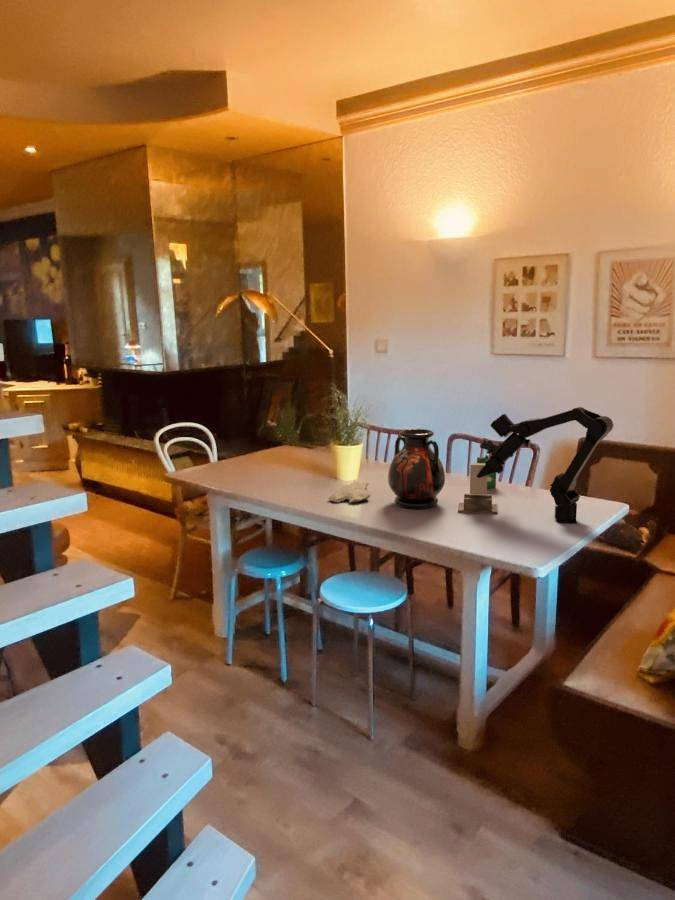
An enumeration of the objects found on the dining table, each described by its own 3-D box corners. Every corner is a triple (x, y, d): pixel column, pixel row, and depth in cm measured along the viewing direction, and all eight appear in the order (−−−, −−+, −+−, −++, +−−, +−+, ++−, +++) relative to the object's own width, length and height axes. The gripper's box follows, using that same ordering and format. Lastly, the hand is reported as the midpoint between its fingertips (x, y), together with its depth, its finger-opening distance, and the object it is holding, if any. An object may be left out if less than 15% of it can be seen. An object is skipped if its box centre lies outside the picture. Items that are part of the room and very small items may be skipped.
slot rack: (497, 506, 248) (497, 493, 248) (497, 514, 239) (497, 501, 238) (458, 504, 251) (459, 492, 250) (457, 512, 242) (458, 499, 241)
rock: (386, 495, 267) (357, 486, 276) (386, 485, 266) (357, 476, 275) (352, 512, 252) (323, 502, 261) (352, 501, 250) (323, 491, 259)
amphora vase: (376, 505, 253) (375, 432, 247) (409, 493, 269) (409, 424, 263) (424, 515, 239) (424, 439, 233) (455, 502, 255) (456, 430, 249)
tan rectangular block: (486, 492, 245) (487, 463, 242) (486, 494, 242) (487, 465, 240) (470, 492, 246) (470, 463, 244) (469, 494, 243) (470, 464, 241)
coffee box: (493, 486, 277) (493, 455, 274) (496, 487, 274) (497, 456, 271) (475, 488, 274) (476, 457, 272) (478, 489, 272) (479, 458, 269)
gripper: (493, 426, 247) (462, 455, 252) (493, 435, 229) (460, 466, 234) (514, 447, 247) (483, 475, 252) (516, 458, 229) (483, 488, 234)
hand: (477, 475), depth 243 cm, fingers closed on tan rectangular block, 3 cm apart
